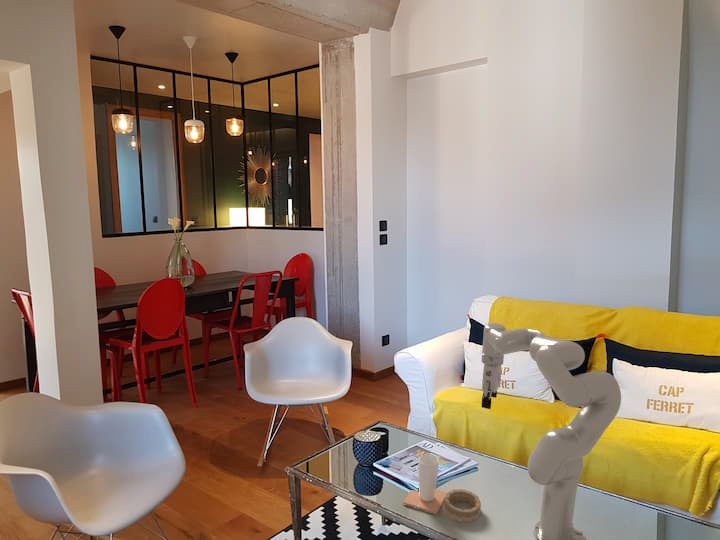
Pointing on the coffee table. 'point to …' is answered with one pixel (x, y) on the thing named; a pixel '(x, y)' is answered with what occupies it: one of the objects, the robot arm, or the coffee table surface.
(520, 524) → the coffee table surface
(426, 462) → the drinking glass
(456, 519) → the collar ring
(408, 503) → the terracotta tile
